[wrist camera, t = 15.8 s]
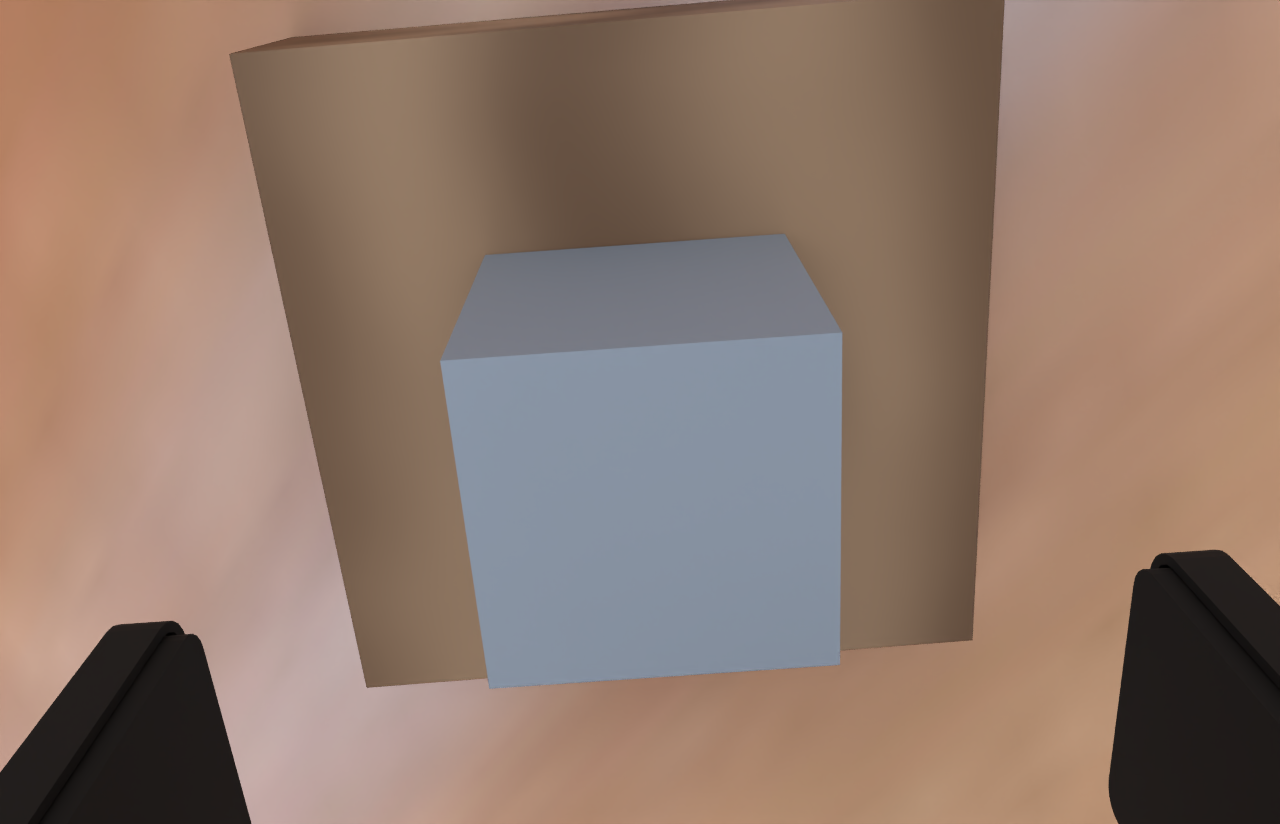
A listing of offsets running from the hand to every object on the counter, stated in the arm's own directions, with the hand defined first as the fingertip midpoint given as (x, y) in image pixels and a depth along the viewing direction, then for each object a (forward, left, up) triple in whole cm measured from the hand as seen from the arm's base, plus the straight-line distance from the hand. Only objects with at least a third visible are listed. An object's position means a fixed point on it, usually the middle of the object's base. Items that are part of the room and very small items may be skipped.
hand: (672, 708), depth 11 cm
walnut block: (0, 0, -13) cm, 13 cm away
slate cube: (0, 0, -9) cm, 9 cm away
